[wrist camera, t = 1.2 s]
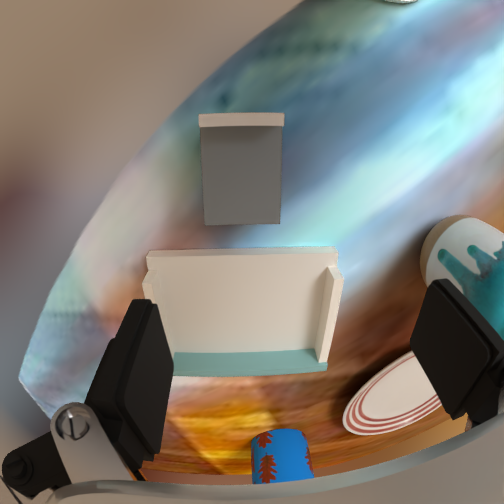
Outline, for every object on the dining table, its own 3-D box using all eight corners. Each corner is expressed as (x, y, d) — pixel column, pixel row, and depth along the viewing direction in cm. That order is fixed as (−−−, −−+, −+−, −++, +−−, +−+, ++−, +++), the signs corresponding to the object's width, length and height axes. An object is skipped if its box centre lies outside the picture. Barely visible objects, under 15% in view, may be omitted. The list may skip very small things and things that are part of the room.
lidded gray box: (208, 114, 24) (194, 114, 16) (271, 113, 24) (288, 113, 16) (211, 200, 27) (200, 239, 19) (270, 199, 28) (285, 237, 19)
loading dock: (149, 250, 29) (137, 272, 25) (334, 246, 30) (348, 267, 26) (170, 349, 35) (164, 375, 31) (318, 345, 36) (326, 370, 32)
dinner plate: (480, 360, 44) (488, 370, 41) (379, 433, 52) (383, 445, 49) (449, 292, 34) (461, 305, 31) (306, 400, 42) (309, 417, 39)
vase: (393, 239, 30) (501, 360, 13) (456, 185, 27) (583, 263, 10) (422, 296, 34) (500, 404, 17) (477, 248, 31) (569, 332, 14)
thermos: (313, 442, 49) (333, 549, 27) (265, 455, 51) (274, 558, 29) (294, 422, 45) (315, 550, 23) (240, 437, 47) (245, 558, 24)
